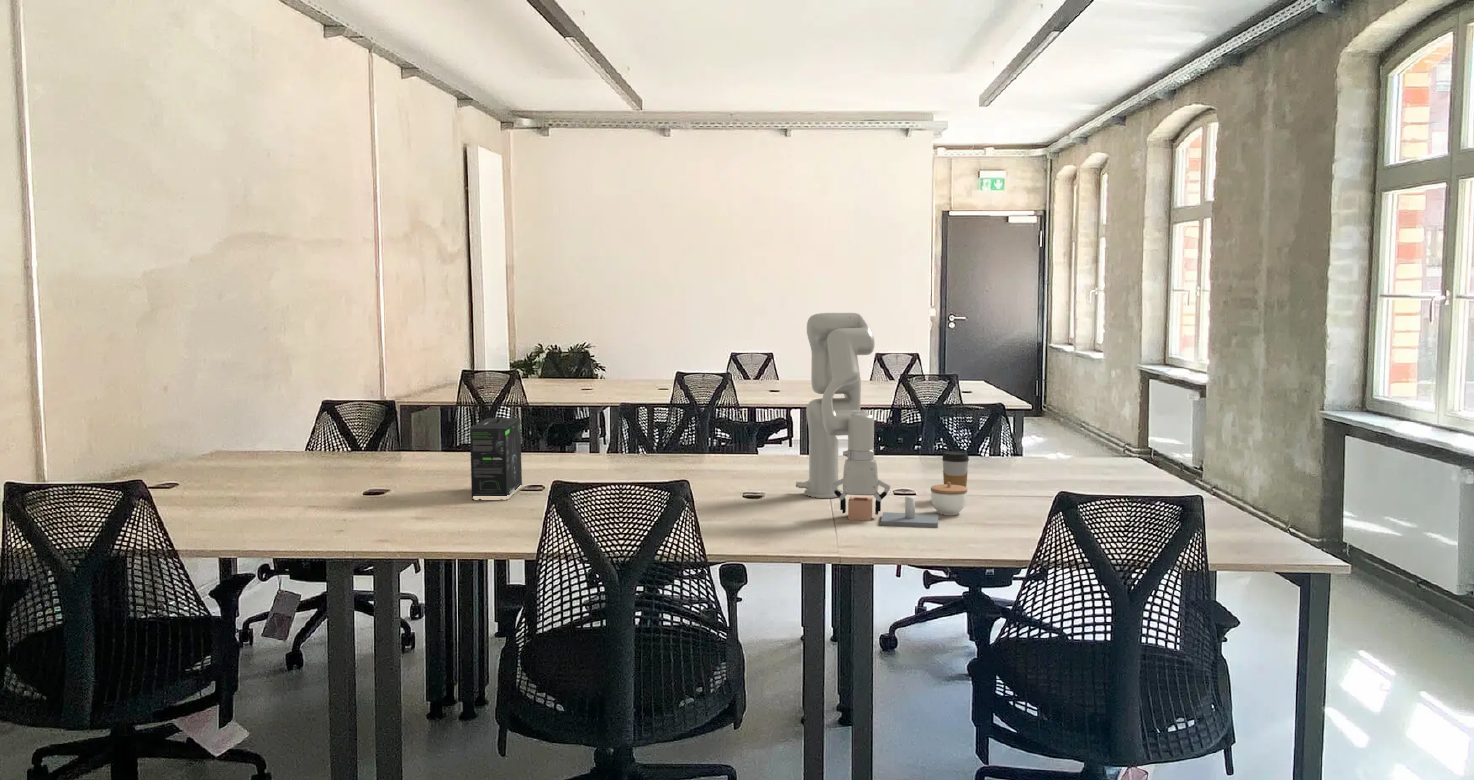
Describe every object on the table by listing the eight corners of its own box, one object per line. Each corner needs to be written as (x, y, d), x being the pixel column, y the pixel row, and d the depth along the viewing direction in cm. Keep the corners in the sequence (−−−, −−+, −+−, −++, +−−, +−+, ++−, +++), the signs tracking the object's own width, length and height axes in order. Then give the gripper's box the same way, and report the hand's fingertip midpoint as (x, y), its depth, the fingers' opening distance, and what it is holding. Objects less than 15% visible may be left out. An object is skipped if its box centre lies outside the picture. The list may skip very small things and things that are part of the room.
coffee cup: (968, 502, 332) (969, 455, 330) (941, 501, 333) (942, 454, 332) (968, 497, 340) (968, 451, 338) (941, 496, 341) (942, 450, 340)
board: (880, 525, 301) (880, 500, 300) (883, 516, 312) (883, 492, 312) (937, 527, 297) (938, 502, 297) (938, 518, 309) (938, 494, 308)
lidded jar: (964, 518, 310) (965, 486, 309) (928, 515, 313) (928, 484, 312) (968, 510, 320) (969, 480, 319) (933, 508, 323) (933, 478, 322)
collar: (848, 519, 308) (848, 501, 308) (850, 514, 314) (850, 496, 314) (870, 520, 307) (871, 501, 306) (872, 515, 313) (872, 497, 313)
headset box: (507, 500, 337) (505, 420, 335) (470, 500, 338) (468, 420, 335) (523, 487, 360) (521, 412, 357) (488, 487, 360) (486, 412, 357)
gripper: (829, 456, 307) (829, 514, 308) (889, 458, 303) (889, 517, 305) (832, 452, 314) (832, 509, 316) (891, 454, 311) (890, 511, 312)
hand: (860, 513), depth 310 cm, fingers open, 9 cm apart
